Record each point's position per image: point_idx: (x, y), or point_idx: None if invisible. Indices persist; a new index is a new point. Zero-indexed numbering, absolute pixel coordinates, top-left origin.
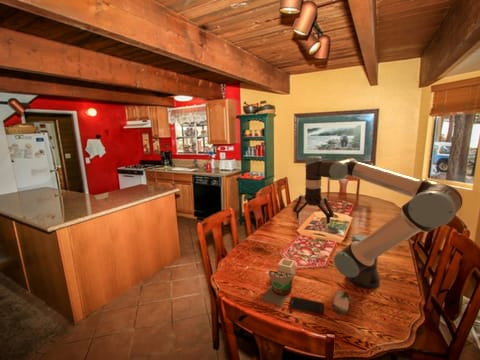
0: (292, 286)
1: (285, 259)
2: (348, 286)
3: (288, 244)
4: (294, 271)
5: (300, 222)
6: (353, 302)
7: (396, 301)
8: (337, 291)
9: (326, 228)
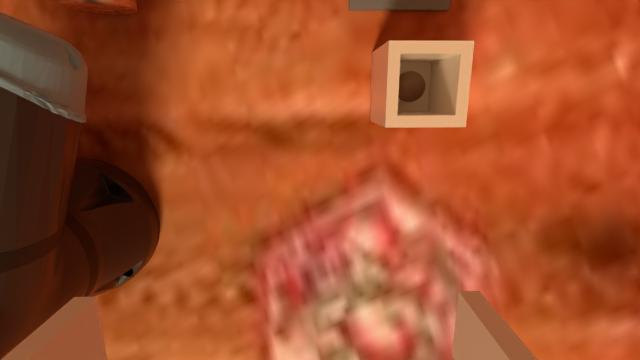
0: (350, 8)
1: (445, 116)
2: (130, 144)
3: None
4: (374, 110)
5: (471, 347)
6: (81, 40)
7: None
8: (115, 1)
9: (55, 314)
